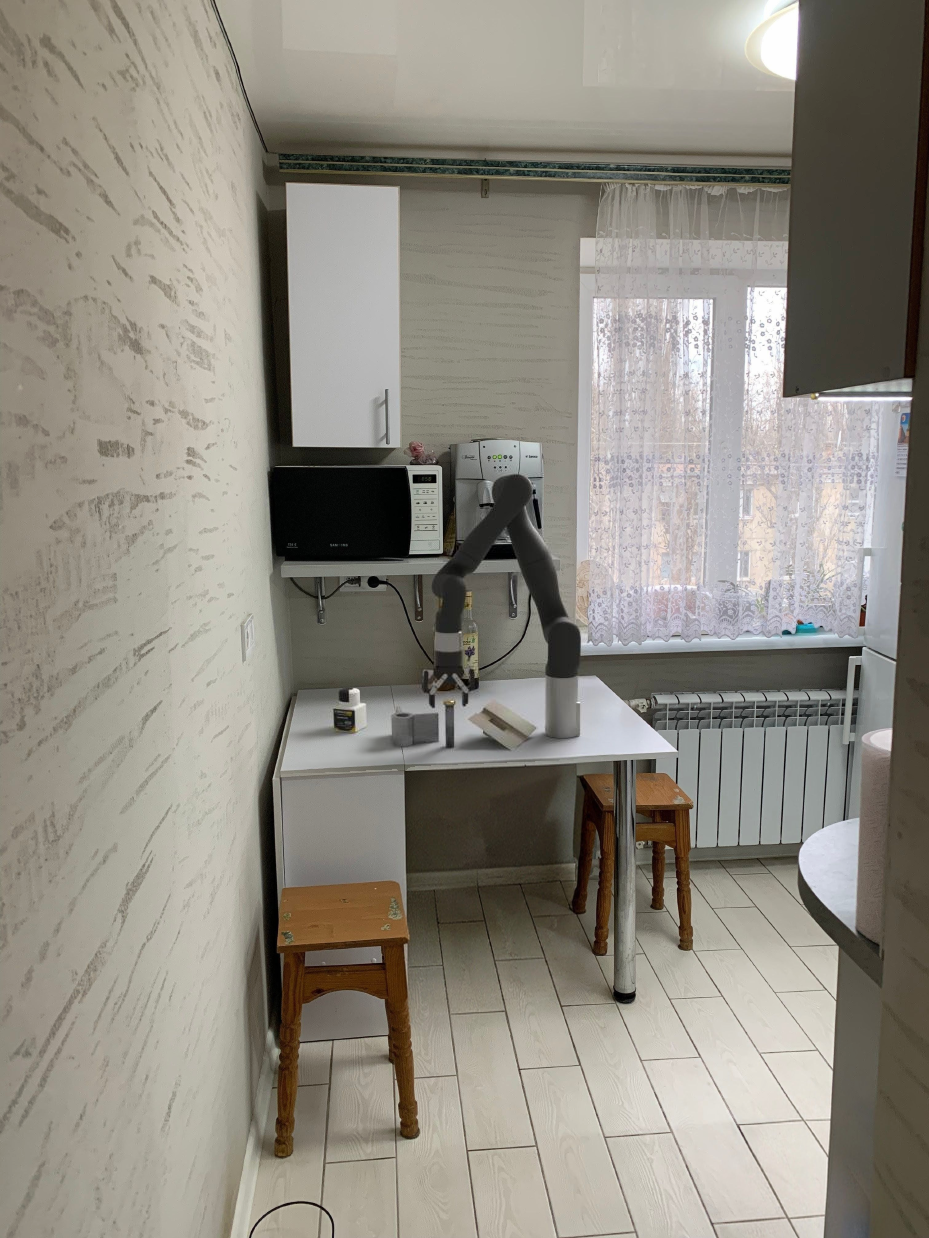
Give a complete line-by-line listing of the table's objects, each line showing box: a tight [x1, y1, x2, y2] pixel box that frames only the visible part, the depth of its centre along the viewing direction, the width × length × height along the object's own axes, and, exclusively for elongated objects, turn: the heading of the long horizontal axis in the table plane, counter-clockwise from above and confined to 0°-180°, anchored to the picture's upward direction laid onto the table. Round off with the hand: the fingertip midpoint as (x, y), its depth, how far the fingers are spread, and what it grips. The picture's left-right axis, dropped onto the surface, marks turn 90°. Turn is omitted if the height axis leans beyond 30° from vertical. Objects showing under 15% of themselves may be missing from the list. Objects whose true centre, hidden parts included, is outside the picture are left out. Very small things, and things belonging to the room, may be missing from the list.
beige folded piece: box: [467, 699, 538, 751], centre depth 256 cm, size 16×9×15 cm
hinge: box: [390, 705, 440, 748], centre depth 256 cm, size 13×13×8 cm
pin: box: [442, 698, 457, 749], centre depth 248 cm, size 3×3×13 cm
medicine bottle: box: [332, 687, 367, 734], centre depth 266 cm, size 7×7×12 cm
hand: (448, 706), depth 247 cm, fingers open, 8 cm apart
